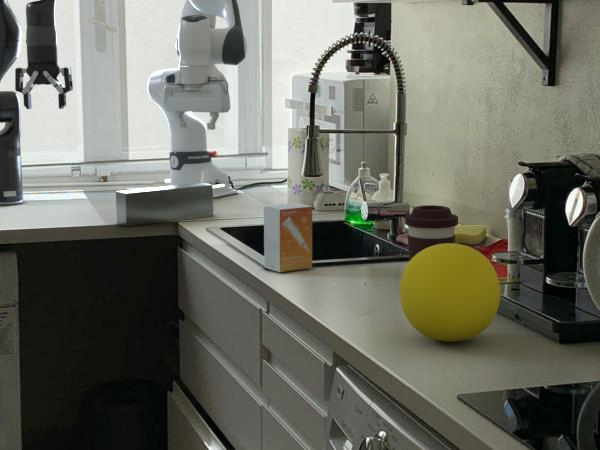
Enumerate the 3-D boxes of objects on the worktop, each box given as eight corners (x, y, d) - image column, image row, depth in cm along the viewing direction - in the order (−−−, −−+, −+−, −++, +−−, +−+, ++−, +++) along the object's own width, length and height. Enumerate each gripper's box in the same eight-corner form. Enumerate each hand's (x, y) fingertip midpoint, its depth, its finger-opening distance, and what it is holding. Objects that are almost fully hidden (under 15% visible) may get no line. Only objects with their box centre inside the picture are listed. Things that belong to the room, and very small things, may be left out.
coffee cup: (400, 280, 202) (400, 204, 200) (450, 279, 203) (451, 203, 201) (409, 292, 193) (410, 212, 190) (462, 291, 193) (463, 211, 191)
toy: (466, 322, 171) (468, 232, 169) (517, 346, 157) (519, 249, 155) (383, 332, 166) (383, 239, 164) (428, 358, 152) (429, 257, 150)
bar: (126, 226, 269) (125, 193, 268) (116, 223, 273) (115, 191, 272) (213, 216, 285) (212, 184, 283) (202, 213, 289) (202, 182, 287)
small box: (280, 273, 210) (279, 209, 208) (263, 267, 216) (262, 205, 213) (313, 268, 215) (312, 205, 213) (296, 263, 220) (295, 202, 218)
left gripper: (74, 43, 266) (76, 107, 269) (19, 44, 267) (23, 108, 270) (64, 43, 259) (67, 109, 261) (9, 44, 260) (12, 109, 263)
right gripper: (234, 77, 276) (235, 129, 278) (173, 76, 287) (174, 127, 289) (220, 77, 271) (221, 131, 273) (158, 77, 281) (160, 128, 284)
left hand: (45, 108), depth 266 cm, fingers open, 8 cm apart
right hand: (197, 129), depth 281 cm, fingers open, 8 cm apart
